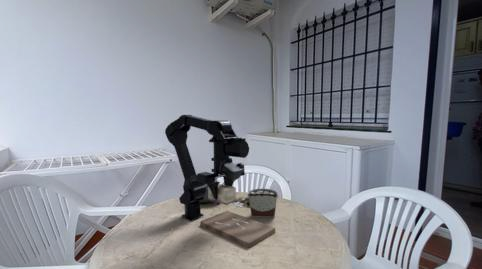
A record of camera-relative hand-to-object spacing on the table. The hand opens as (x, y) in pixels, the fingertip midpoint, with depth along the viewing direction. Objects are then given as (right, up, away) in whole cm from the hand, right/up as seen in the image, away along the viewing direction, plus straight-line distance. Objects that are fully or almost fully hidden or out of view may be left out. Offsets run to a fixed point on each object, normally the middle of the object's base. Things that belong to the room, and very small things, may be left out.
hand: (221, 197), depth 88 cm
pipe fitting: (-9, -10, +26) cm, 29 cm away
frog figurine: (+10, -10, +25) cm, 29 cm away
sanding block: (0, -1, 0) cm, 1 cm away
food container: (+16, -10, +12) cm, 23 cm away
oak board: (+5, -11, -1) cm, 12 cm away
